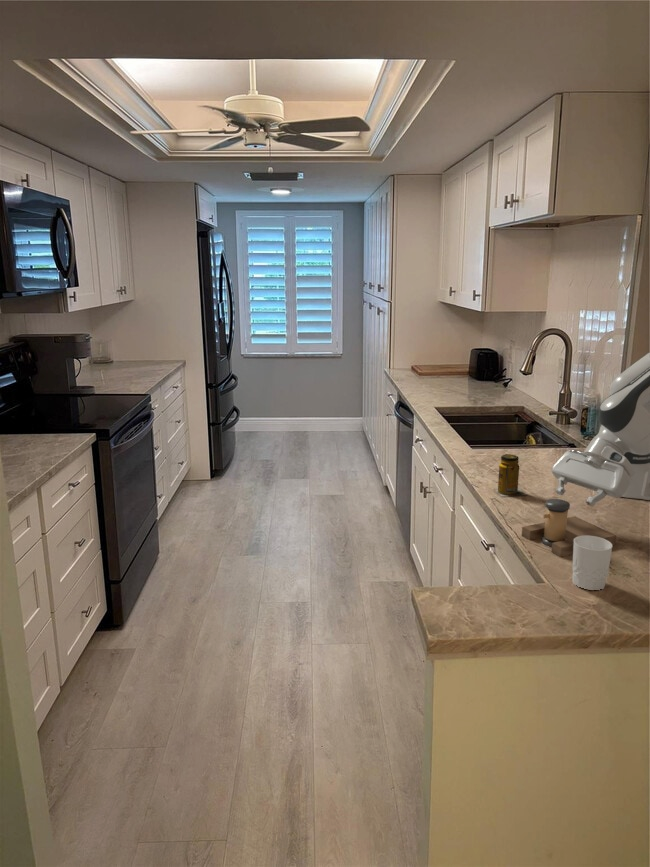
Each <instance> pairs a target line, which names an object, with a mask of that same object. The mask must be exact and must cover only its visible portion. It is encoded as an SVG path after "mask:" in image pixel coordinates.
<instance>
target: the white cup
mask: <svg viewBox="0 0 650 867" xmlns="http://www.w3.org/2000/svg"><path fill="white" fill-rule="evenodd" d="M613 547H614V545H612V543H611V542H609V541H608V540H606V539H603V538H600V537H596V536H578V537H576V538H574V544H573V554H572V578H571V581H572V583H573V585H574V584H575V586H576V585H577V586H578V587H577V586H576V587H577V588H579V587H581V588H584V589H590V590H599V591H601V590H600V589H602V590H604V589H605V586H606V583H607V577H608V574H609V570H610V565H611V564H610V563H611V559H612V551H613ZM581 588H580V589H581ZM584 589H583V590H584Z"/></svg>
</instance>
